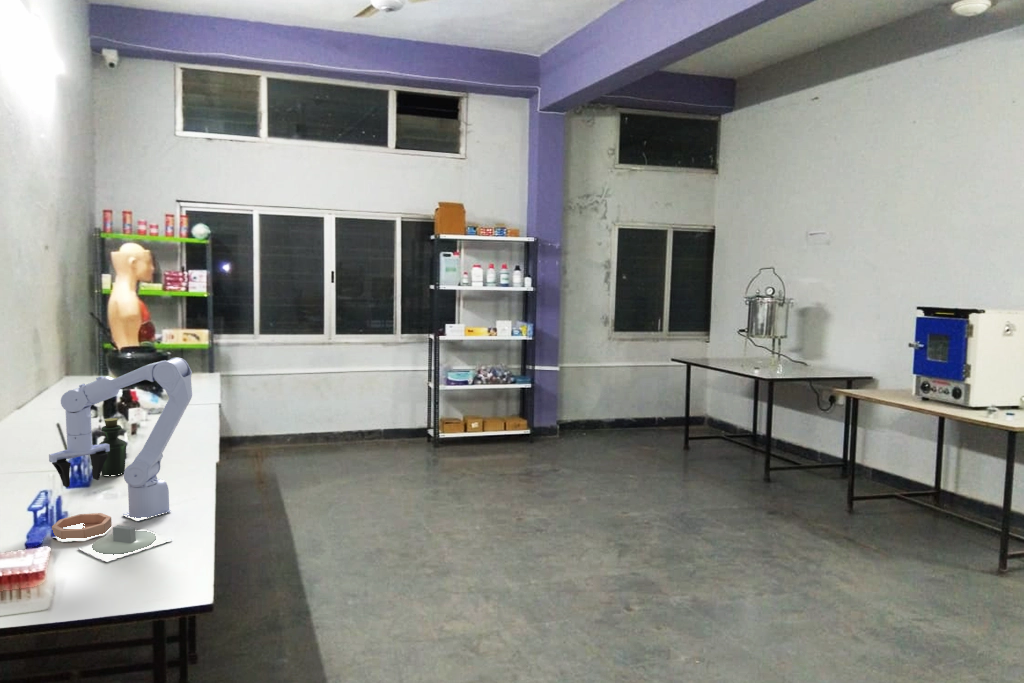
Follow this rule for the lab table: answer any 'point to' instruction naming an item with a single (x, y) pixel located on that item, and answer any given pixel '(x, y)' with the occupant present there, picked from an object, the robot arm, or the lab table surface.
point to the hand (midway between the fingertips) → (81, 482)
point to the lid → (123, 540)
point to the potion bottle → (113, 449)
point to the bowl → (93, 525)
